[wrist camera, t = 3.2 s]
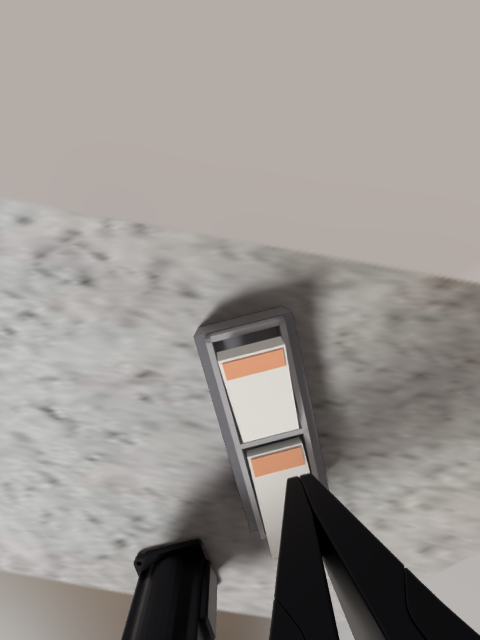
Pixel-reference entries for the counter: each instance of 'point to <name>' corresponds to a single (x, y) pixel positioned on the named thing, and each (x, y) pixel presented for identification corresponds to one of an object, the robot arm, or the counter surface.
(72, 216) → the counter surface
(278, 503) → the block
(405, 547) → the counter surface
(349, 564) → the robot arm
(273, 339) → the rocker
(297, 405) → the rocker switch panel
